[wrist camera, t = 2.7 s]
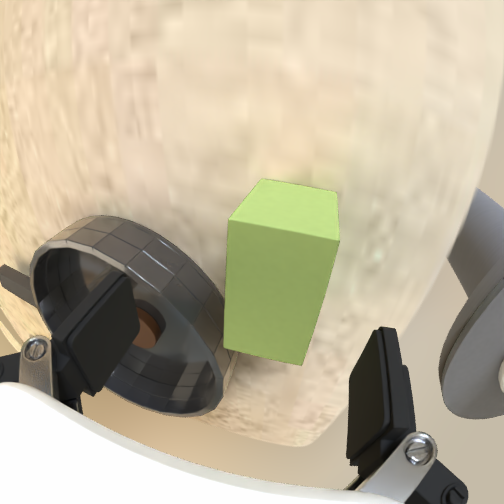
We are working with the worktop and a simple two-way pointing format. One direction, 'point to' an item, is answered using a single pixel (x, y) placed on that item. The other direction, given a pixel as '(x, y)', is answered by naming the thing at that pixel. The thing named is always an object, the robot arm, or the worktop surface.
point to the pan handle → (16, 283)
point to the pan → (151, 301)
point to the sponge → (278, 269)
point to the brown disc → (147, 330)
